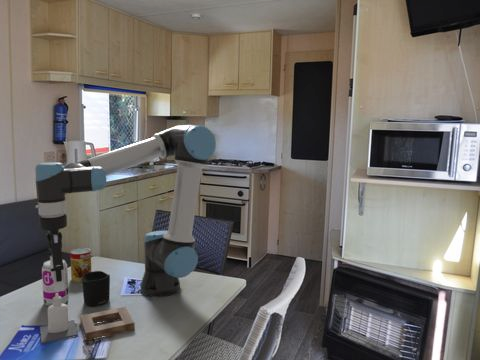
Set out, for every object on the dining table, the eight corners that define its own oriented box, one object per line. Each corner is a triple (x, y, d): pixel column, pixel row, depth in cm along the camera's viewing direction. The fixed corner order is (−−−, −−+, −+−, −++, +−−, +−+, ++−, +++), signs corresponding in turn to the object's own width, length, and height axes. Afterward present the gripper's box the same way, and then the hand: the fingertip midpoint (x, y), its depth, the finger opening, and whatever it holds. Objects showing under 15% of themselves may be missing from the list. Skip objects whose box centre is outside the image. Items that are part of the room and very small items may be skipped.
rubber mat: (74, 321, 131) (74, 319, 131) (77, 335, 123) (77, 334, 122) (39, 328, 126) (39, 326, 126) (41, 343, 118) (41, 341, 118)
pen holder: (80, 308, 141) (79, 281, 139) (86, 297, 150) (85, 271, 148) (108, 307, 142) (107, 279, 141) (112, 295, 151) (111, 270, 150)
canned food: (87, 282, 164) (86, 253, 162) (68, 281, 164) (66, 253, 162) (94, 275, 171) (93, 247, 170) (76, 274, 172) (75, 247, 170)
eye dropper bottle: (54, 326, 127) (52, 290, 125) (70, 327, 126) (69, 291, 125) (46, 333, 123) (43, 295, 121) (63, 334, 122) (61, 297, 120)
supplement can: (59, 308, 140) (57, 267, 138) (38, 306, 142) (36, 265, 140) (73, 298, 148) (71, 259, 146) (53, 296, 150) (51, 257, 148)
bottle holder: (125, 313, 137) (125, 306, 137) (134, 330, 126) (134, 322, 126) (80, 322, 130) (80, 315, 130) (86, 341, 120) (85, 333, 119)
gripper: (37, 208, 129) (42, 271, 132) (40, 226, 107) (46, 301, 110) (62, 205, 132) (67, 267, 135) (70, 222, 110) (75, 295, 113)
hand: (57, 282), depth 123 cm, fingers open, 13 cm apart
